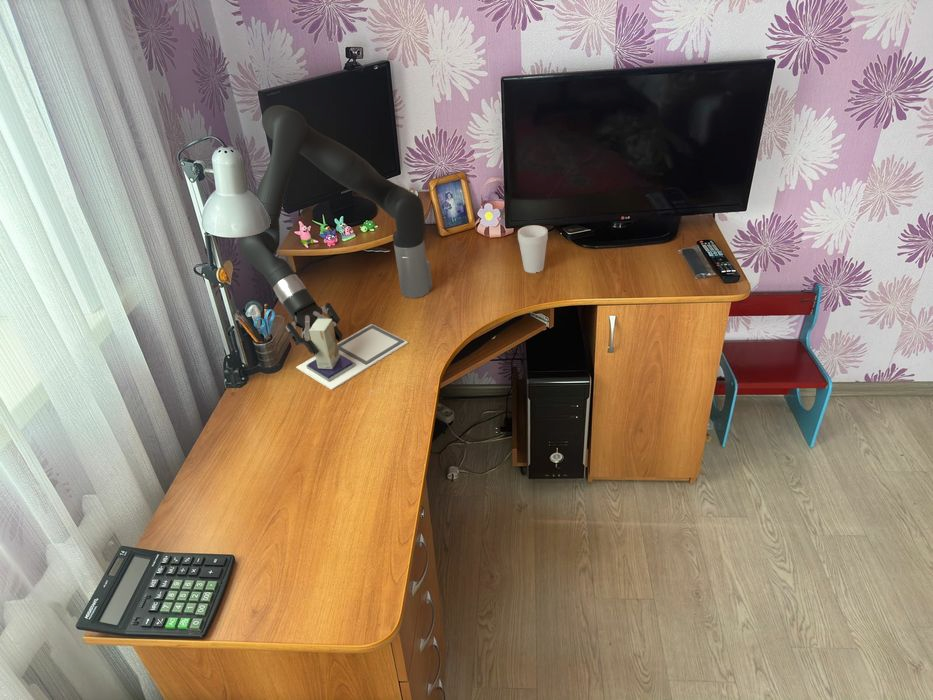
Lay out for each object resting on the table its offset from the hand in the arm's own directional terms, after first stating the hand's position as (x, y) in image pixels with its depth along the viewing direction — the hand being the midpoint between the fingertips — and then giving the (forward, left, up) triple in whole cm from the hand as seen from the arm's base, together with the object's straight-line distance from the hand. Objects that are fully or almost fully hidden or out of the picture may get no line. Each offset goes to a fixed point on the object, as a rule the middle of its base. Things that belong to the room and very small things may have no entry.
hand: (328, 346), depth 185 cm
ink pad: (0, -1, -8) cm, 8 cm away
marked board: (-8, -1, -8) cm, 11 cm away
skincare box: (0, -2, -6) cm, 6 cm away
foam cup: (-76, +8, -8) cm, 76 cm away
